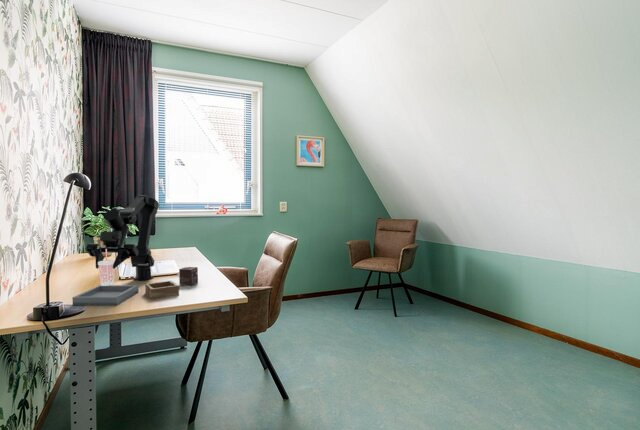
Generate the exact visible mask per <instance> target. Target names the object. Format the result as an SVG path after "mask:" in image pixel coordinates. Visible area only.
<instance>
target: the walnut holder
mask: <svg viewBox="0 0 640 430" xmlns="http://www.w3.org/2000/svg"><path fill="white" fill-rule="evenodd" d="M144 286H145V288H144V289H145V290H144V291H145V292H144V293H145V295H146V296H147V295H148V296H149V297H148V296H147V297H148V298H149V299H150V300H156V299H157V298H158V299H164V298H171V297H177V296H179V295H180V291H179V290H180V289H179V287H180V285H178V284H177V283H176V282H174V280H173V281H172V280H166V281H158V282H153V283H152V282H151V283H150V282H149V283H145V285H144ZM158 299H157V300H158Z"/></svg>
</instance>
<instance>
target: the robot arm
mask: <svg viewBox="0 0 640 430" xmlns="http://www.w3.org/2000/svg"><path fill="white" fill-rule="evenodd" d="M159 207H160V203H159V202H158V200H156V199H155V198H152V197H149V195H145V194H142V195H141V194H140V195H135V198H134V199H133V201H132V202H130V203H129V205H128V206H127V207H126V208H123V209H118V208H117V207H111V209H110V210H107V211H105V212H104V213H103V216H102V217H103V219H104V221H105V222H106V224H107V225H108V227H109V229H111V231H101V232H100V236H99V240H100V241H101V242H102V244H103V246H100V245H99V243H87V244H86V245H85V247H84V249H85V251H86V253H88V255H89V256H90V257H92V258H95V268H96V269H97V270H99V265H98V262H99V261H104V260H105V256H104V255H103V253H106V249H107V254H108V253H110V254H112V253H115V254H116V253H117V255H116V257H115V262H114V264H113V269H116V268H117V267H118V266H120V265H121V264H122V263H123V262H125V261H126V260H128V259H130V263H131V267H132V268H135V277H133V280H136V281H141V282H143V281H146V280H151V279H154V276H152V269H151V267H154V266H155V259H154V257H153V255H152V250H151V248H150V245H149V244H150V239H151V238H150V237H151V230H152V225H153V218H154V217H155V216H156V214H157V213H158V209H159ZM139 212H140V215H141V221H140V227H139V233H138V239H137V240H138V241H137V245H136V244H135V243H126V238H127V236H128V235H130V234H131V231H130V227H129V226H128V225H130V226H133V225H134V224H135V223H136V221H137V219H138V218H137V215H138V214H139Z"/></svg>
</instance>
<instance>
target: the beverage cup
mask: <svg viewBox="0 0 640 430" xmlns="http://www.w3.org/2000/svg"><path fill="white" fill-rule="evenodd" d="M114 262H115V260H113V259H108V252H107V249H106V252H105V259H104V260H103V261H99V262H98V265H99V268H98V274H99V282H100V285H101V286H108V285H114V284H115V272H116V271H115V269H116V268H115V269H113V264H114Z"/></svg>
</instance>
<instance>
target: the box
mask: <svg viewBox="0 0 640 430" xmlns="http://www.w3.org/2000/svg"><path fill="white" fill-rule="evenodd" d="M178 271H179V273H178V275H179V278H178V279H179V283H178V284H179V286H190V287H191V286H194V285H196V284H198V283H199V274H198V273H199V272H198V267H196V266H195V267H194V266H185V267H181V268H179V269H178Z"/></svg>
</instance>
